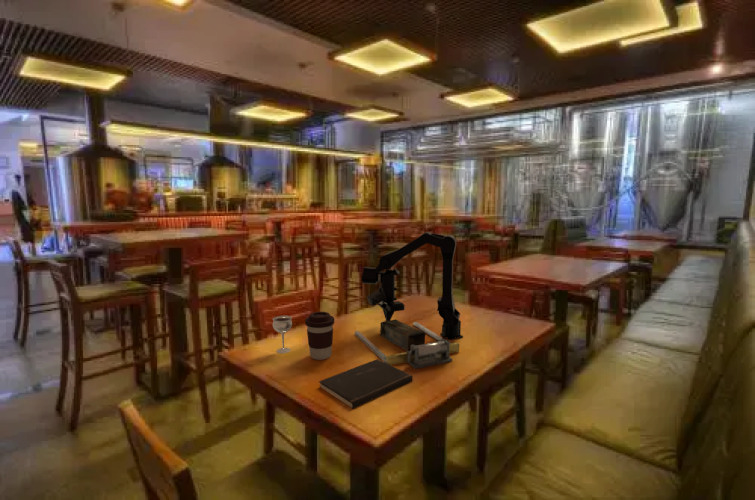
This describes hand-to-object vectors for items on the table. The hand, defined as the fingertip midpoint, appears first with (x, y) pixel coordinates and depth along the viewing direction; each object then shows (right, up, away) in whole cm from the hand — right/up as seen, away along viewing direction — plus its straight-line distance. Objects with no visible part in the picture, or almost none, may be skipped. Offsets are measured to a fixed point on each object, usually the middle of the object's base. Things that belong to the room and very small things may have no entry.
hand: (387, 322), depth 162 cm
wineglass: (-38, -7, -20) cm, 43 cm away
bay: (+6, -5, -13) cm, 15 cm away
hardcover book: (-8, -11, -44) cm, 46 cm away
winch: (+13, -8, -30) cm, 33 cm away
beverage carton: (+5, -6, -12) cm, 14 cm away
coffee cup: (-24, -8, -24) cm, 35 cm away
